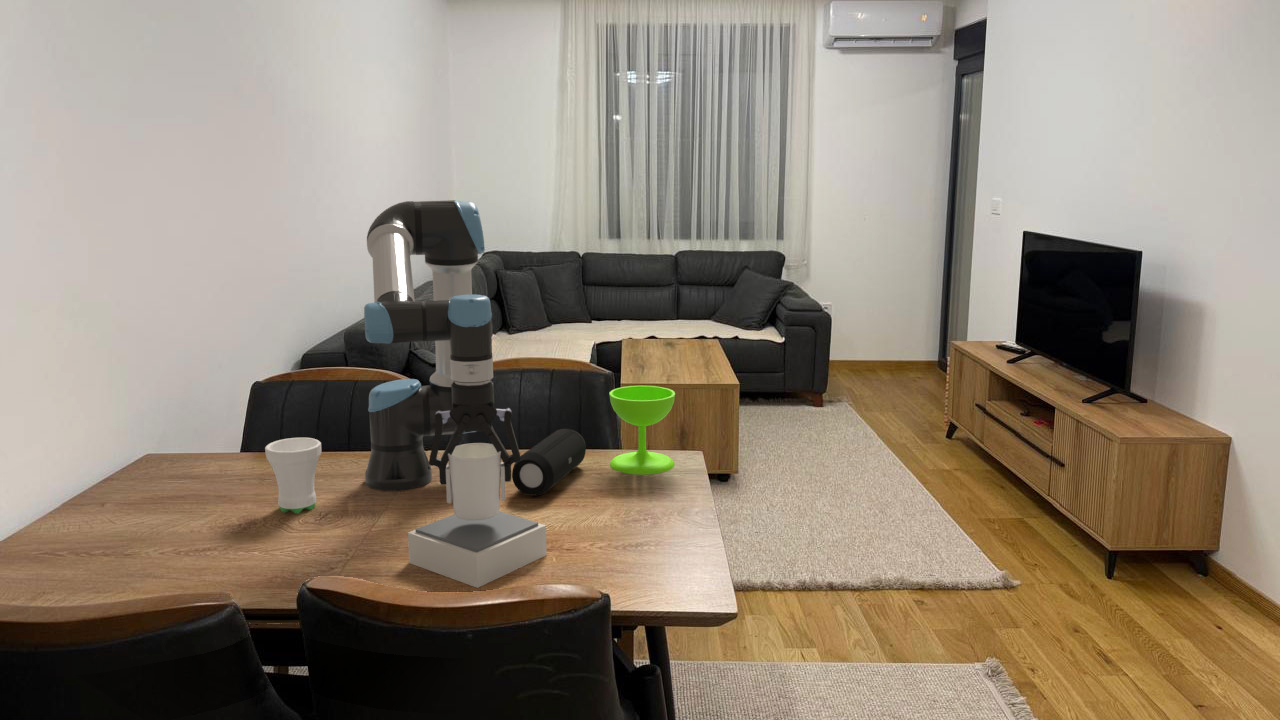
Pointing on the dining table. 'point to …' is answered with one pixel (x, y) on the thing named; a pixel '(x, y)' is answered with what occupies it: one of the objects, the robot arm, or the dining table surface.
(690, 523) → the dining table surface
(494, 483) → the candle holder
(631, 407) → the wineglass
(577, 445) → the portable speaker
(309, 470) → the cup
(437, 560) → the plinth
